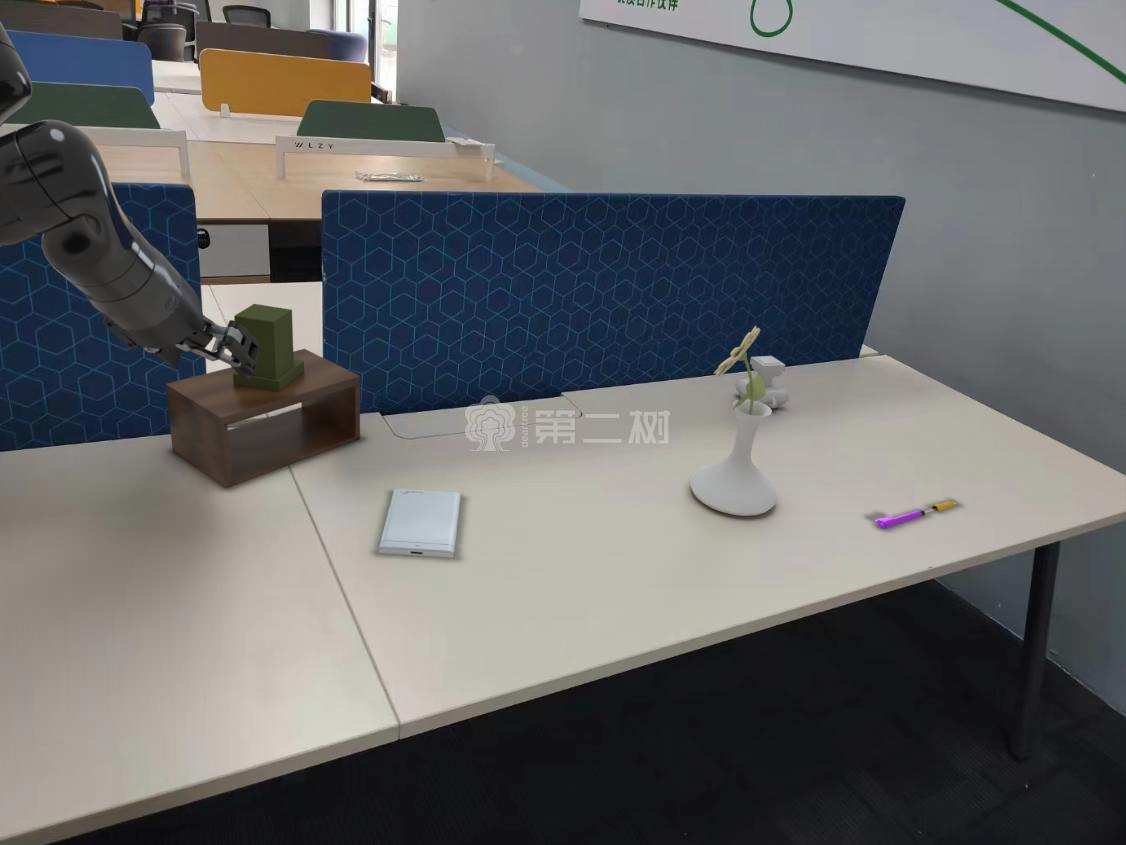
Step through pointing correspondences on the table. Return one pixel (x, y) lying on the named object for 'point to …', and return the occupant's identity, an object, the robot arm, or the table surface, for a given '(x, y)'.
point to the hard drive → (421, 523)
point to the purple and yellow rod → (910, 516)
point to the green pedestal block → (270, 347)
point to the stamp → (766, 381)
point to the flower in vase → (739, 453)
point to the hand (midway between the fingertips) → (212, 364)
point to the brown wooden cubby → (268, 442)
